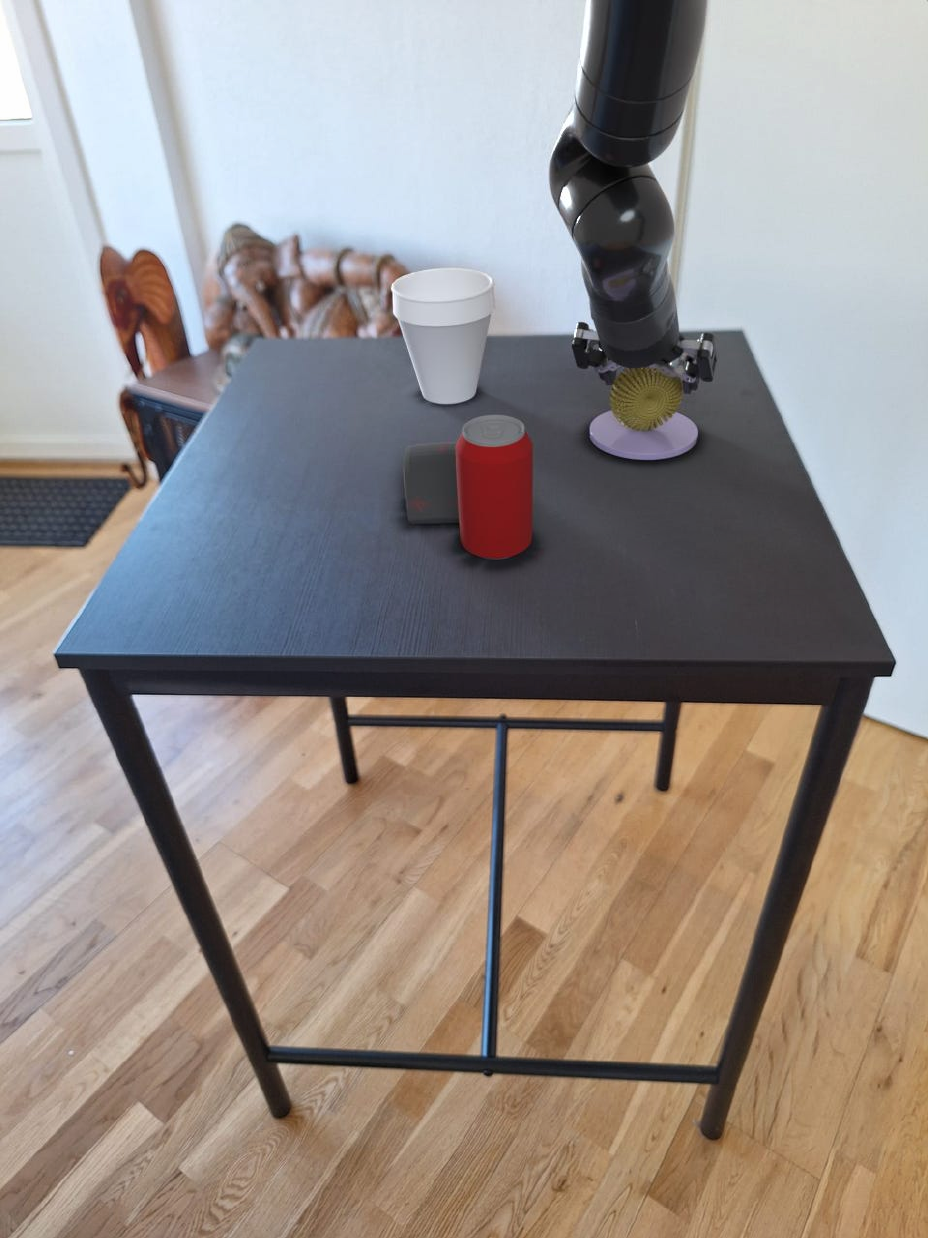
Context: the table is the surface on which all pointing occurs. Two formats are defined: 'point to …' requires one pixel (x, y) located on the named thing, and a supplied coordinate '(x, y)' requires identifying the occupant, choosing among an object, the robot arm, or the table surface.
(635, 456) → the saucer
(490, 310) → the cup
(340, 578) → the table surface
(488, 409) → the table surface
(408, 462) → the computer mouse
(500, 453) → the beverage can
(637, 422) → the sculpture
